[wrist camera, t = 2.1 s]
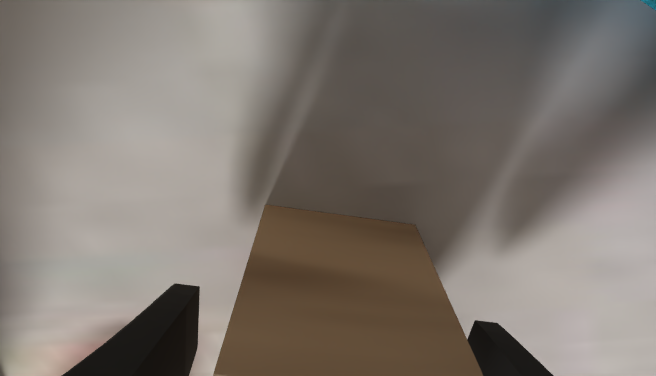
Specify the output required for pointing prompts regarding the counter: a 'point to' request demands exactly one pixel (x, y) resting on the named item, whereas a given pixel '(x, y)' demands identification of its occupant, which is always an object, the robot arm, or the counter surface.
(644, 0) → the ice cube tray
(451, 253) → the counter surface
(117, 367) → the robot arm
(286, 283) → the walnut block
